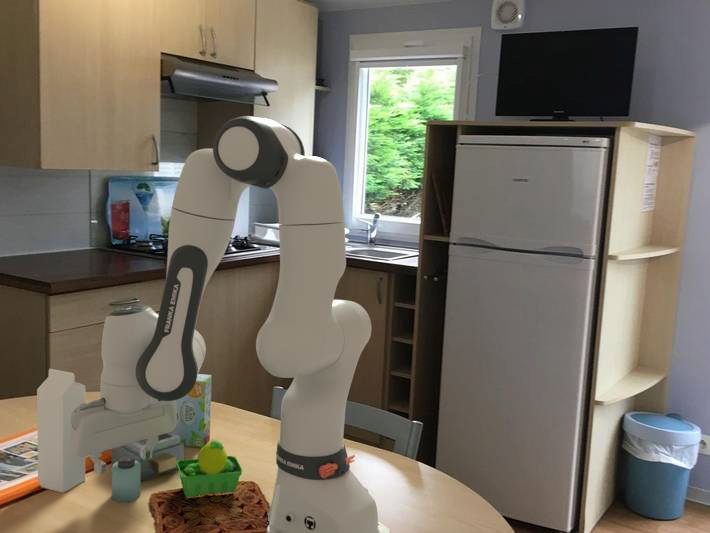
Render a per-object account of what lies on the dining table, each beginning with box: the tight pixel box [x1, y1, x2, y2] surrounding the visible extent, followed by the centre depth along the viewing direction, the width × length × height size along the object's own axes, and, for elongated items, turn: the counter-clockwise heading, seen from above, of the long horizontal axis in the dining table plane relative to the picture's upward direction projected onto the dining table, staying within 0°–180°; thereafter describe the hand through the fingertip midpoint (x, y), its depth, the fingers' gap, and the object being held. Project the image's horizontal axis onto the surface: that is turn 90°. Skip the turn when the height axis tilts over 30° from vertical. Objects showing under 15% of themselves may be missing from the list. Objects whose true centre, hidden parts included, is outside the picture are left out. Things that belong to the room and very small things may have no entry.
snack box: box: [172, 373, 213, 449], centre depth 162 cm, size 21×6×15 cm, turn 84°
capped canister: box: [111, 457, 141, 504], centre depth 136 cm, size 5×5×7 cm
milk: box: [36, 368, 86, 494], centre depth 138 cm, size 6×6×22 cm
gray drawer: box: [111, 432, 185, 483], centre depth 148 cm, size 12×10×6 cm
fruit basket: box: [176, 439, 243, 498], centre depth 139 cm, size 11×9×11 cm
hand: (123, 465), depth 137 cm, fingers open, 8 cm apart
